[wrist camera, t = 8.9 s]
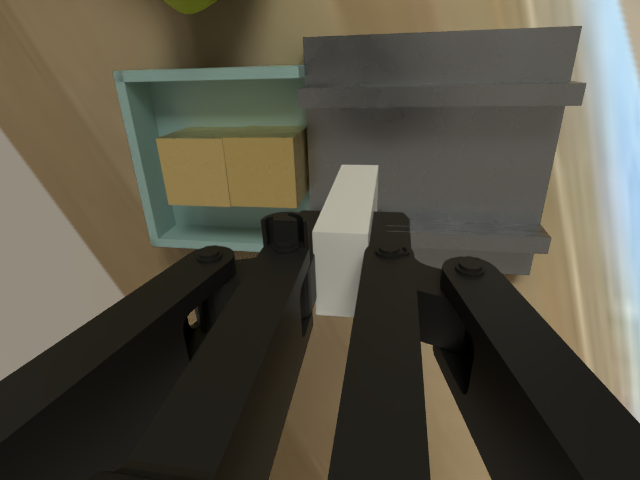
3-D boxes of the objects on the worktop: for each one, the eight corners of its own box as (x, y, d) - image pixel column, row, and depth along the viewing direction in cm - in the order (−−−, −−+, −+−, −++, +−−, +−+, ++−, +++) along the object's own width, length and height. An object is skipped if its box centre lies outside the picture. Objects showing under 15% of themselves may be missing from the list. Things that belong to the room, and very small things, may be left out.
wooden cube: (246, 125, 26) (222, 137, 22) (307, 125, 25) (292, 137, 22) (252, 186, 28) (231, 206, 24) (310, 187, 27) (297, 208, 23)
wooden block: (188, 126, 27) (155, 138, 23) (246, 126, 26) (221, 138, 22) (197, 185, 28) (168, 204, 25) (252, 187, 28) (230, 207, 24)
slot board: (308, 38, 24) (294, 36, 20) (570, 27, 21) (600, 23, 18) (316, 253, 29) (306, 277, 26) (522, 264, 27) (539, 291, 24)
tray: (142, 69, 26) (112, 71, 23) (309, 64, 24) (298, 65, 21) (173, 229, 31) (151, 246, 28) (315, 235, 29) (307, 254, 26)
